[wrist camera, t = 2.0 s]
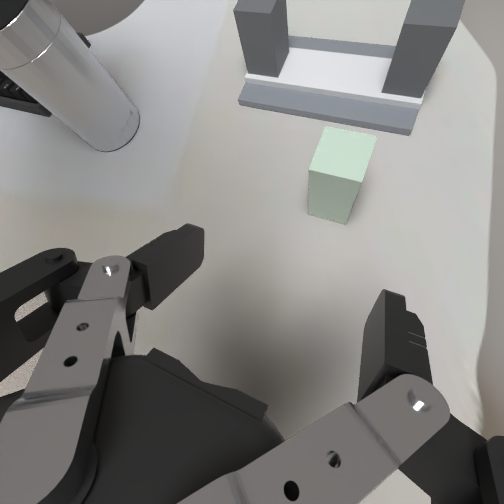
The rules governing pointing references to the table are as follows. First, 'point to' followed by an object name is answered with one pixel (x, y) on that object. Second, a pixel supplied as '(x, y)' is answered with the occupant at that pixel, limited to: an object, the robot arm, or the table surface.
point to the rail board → (343, 66)
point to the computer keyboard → (23, 94)
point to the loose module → (338, 172)
